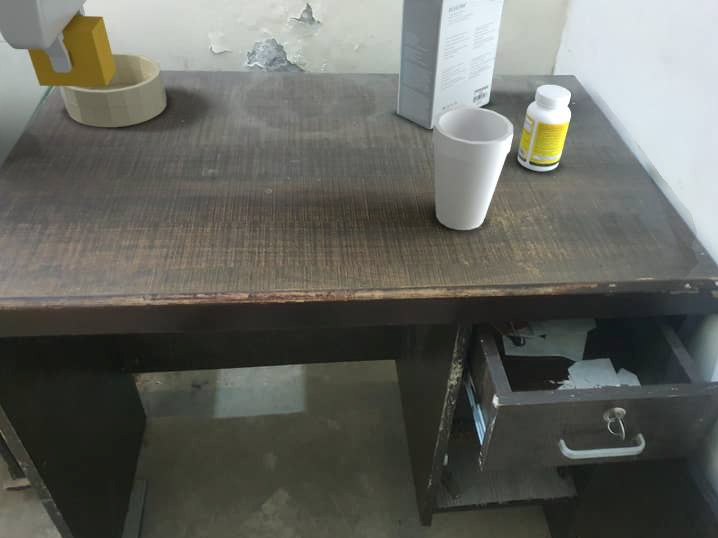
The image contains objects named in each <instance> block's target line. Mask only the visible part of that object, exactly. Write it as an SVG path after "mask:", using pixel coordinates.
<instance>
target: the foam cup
mask: <svg viewBox="0 0 718 538" xmlns="http://www.w3.org/2000/svg"><path fill="white" fill-rule="evenodd" d="M432 129H433V130H432V137H431V143H432V145H433V161H434V162H433V165H434V166H433V171H434V196H435V213H436V214H435V217H436V219H437V220H438V222H439V223H440V224H441V225H444V226H445V227H447V228H449V229H452V230H456V231H470V230H474V229H477V228H479V227H480V226H481V225H482V224H483V223H484V219H485V218H486V216H487V212H488V210H489V207H490V205H491V201H492V199H493V195H494V193H495V190H496V187H497V184H498V181H499V178H500V175H501V172H502V170H503V166H504V164H505V161H506V158H507V156H508V154H509V153H510V151H511V147H512V141H513V136H514V124H513V123H512V122H511V121H510V120H509V119H508V118H507V117H506V116H505V115H502V114H501V113H498V112H496V111H494V110H491V109H488V108H482V107H479V108H478V107H455V108H450V109H446V110H443V111H442V112H440V113H439V114H437V115H436V116H435V121H434V127H433V128H432Z"/></svg>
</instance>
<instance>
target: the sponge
mask: <svg viewBox="0 0 718 538" xmlns="http://www.w3.org/2000/svg"><path fill="white" fill-rule="evenodd" d="M62 34H63V37H64V39H63V40H62V41H63V43H64V45H65V47H66V49H67V51H71V55H72V59H73V62H74V66H73V68H72V69H71V71H70V72H69V73H57V72H55V71H54V70H53V68H52V65H51V61H50V58H49V56H48V55H47V54H46V53H45V51H44V50H43V49H42V50H27V52H28V55H29V57H30V61H31V64H32V67H33V69H34V73H35V75H36V78H37V81H38V85H39V86H40V87H59V86H88V87H107V85H108V83H109V81H110V80H111V78H112V76H113V74H114V73H115V71H116V68H115V64H114V60H113V56H112V49H111V45H110V41H109V36H108V32H107V28H106V25H105V21H104V16H94V15H93V16H92V15H90V16H89V15H87V16H86V15H85V16H74V17H73V18H72V19H71V21H70V22H69V23H68V24H67V26H66V27H65V28H64V29H63V31H62Z"/></svg>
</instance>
